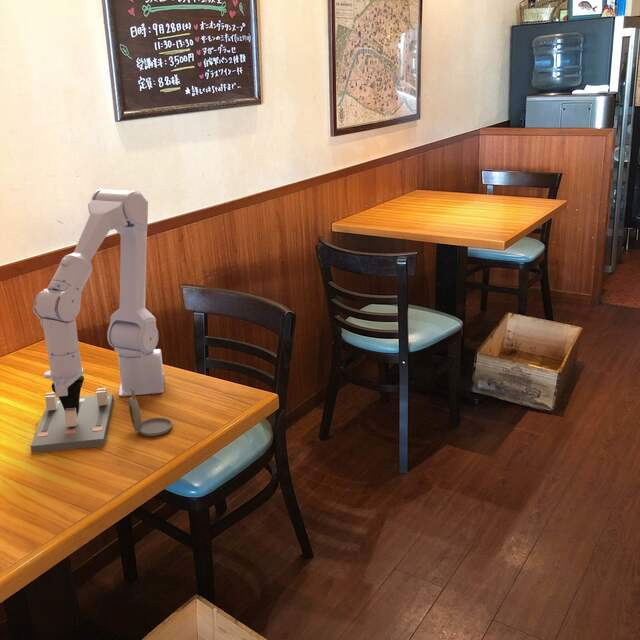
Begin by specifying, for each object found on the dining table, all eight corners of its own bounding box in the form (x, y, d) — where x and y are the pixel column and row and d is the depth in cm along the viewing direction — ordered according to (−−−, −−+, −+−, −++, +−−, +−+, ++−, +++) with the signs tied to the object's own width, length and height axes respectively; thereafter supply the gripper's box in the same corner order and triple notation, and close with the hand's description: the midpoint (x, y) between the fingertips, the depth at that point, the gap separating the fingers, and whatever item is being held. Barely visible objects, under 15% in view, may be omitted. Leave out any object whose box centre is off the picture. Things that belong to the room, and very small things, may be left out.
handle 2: (108, 400, 144) (106, 386, 143) (107, 404, 142) (105, 390, 141) (99, 401, 143) (97, 387, 142) (98, 405, 142) (96, 391, 141)
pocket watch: (179, 426, 136) (175, 380, 133) (149, 445, 130) (144, 397, 126) (149, 417, 140) (144, 372, 137) (118, 434, 134) (112, 388, 130)
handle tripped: (77, 421, 135) (75, 406, 134) (76, 426, 133) (74, 411, 132) (68, 422, 135) (66, 407, 134) (66, 426, 133) (64, 412, 132)
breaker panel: (113, 400, 148) (112, 393, 148) (104, 445, 130) (103, 438, 129) (50, 405, 146) (49, 399, 145) (31, 453, 127) (30, 445, 127)
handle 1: (57, 405, 142) (55, 391, 141) (56, 409, 140) (54, 395, 139) (48, 406, 142) (46, 392, 141) (47, 410, 140) (44, 396, 139)
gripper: (48, 338, 137) (57, 400, 141) (33, 366, 124) (44, 433, 128) (84, 335, 138) (93, 397, 143) (74, 363, 125) (84, 429, 129)
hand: (72, 414), depth 135 cm, fingers closed
